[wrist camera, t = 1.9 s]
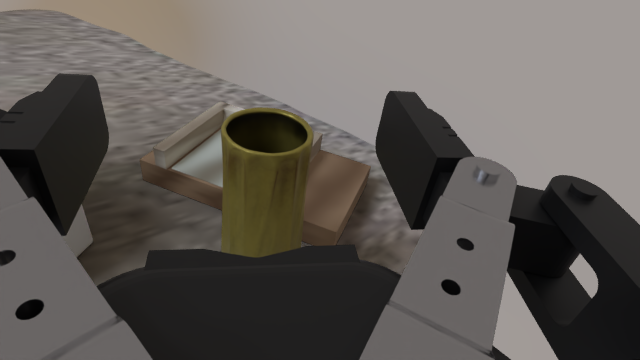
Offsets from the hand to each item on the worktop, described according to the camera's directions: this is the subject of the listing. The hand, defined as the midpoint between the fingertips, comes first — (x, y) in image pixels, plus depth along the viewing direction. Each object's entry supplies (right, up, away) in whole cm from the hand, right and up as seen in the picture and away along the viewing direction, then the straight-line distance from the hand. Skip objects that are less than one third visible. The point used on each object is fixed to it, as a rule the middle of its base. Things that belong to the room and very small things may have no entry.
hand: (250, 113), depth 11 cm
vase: (-3, -10, +20) cm, 22 cm away
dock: (-4, -2, +30) cm, 30 cm away
